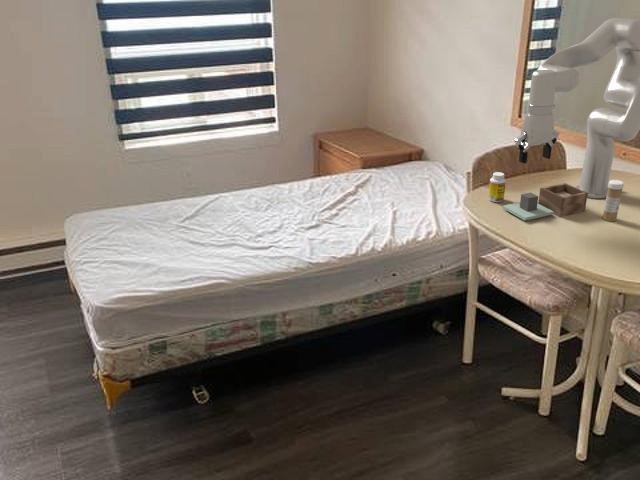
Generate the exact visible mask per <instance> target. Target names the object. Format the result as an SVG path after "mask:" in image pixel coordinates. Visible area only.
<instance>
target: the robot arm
mask: <svg viewBox="0 0 640 480" xmlns="http://www.w3.org/2000/svg"><path fill="white" fill-rule="evenodd" d="M614 49H615V52H616V63H615V67H614V70H613V72H612V75H611V76H610V79H609V80H608V82H607V83H608V84H607V86H606V88H605V90H604V93H603V100H604V102H605V103H606V104H608V105H610V106H614V107H616V108H617V107H619V108H623V109H626V111H623V110H622V111H621V110H618V109H613V108H608V107H599V108H595V109H593V110H592V111H591V112H590V113H589V115H588V117H587V120H586V131H587V132H586V133H587V135H586V137H587V138H586V145H585V146H586V147H585V152H584V158H583V164H582V171H581V175H580V181H579V184H578V185H576V186H574V187H575V188H578V189H580V190H582V191H585V192H587V193H588V196H587V199H588V198H589V199H606V196H607V192H608V183H609V181H610V176H611V172H612V165H613V162H614V161H613V160H614V156H615V155H614V154H615V149H616V145H615V140H616V141H617V140H618V141H623V142H629V141H630V142H631V141H632V140H633V139H634V138H635V137H637V135H638V134H639V131H640V80H639V79H640V19H635V18H624V17H623V18H622V17H620V18H619V17H613V18H609V19H607V20H605V21H604V22H603V23H602V24H601V25H599V26H598V27H597V28H596V29H595V30H594V31H592V33H591V34H590V35H588V36H587V37H586V38H585V39H584V40H583V41H580V42H579V43H577V44H574V45H571V46H568V47H567V48H566V47H565V48H563V49H562V50H559V51H557V52H555V53H554V54H552V55H550V56H549V57H548V58H547V59H546V60H545V61H544V62H543V63H542V64H540V66H539V67H538V68H537V70H534V71H533V73H532V74H531V81H530V89H529V98H528V100H529V101H528V108H527V109H528V110H527V113H525V116H524V117H523V121H522V124H521V125H522V126H521V130H520V134H519V135H518V136H517V137H516V138H515V139H514V143H515V147H516V148H517V149H518V151H519V156H518V161H519V163H522V164H527V162H528V156H529V155H528V154H529V152H528V149H529V148H530V147H533V146H538V145H543V147H542V155H541V157H543V158H545V159H546V160H547V159H548V160H549V159H551V155H552V148H554V145H555V143H556V142H557V140H558V138H559V136H560V131H557V130H555V129H554V128H555V117H554V113H553V110H554V108H555V107H556V105H555V95H556V93H569V92H572V91H573V90H575V89H576V88H577V87H578V86H579V84H580V82H581V74H580V73H579V71H578V70H577V69H575V68H579V67H587V66H590V65H594V64H598V63H599V62H600V61H601V60H602V59H604V58H605V57H606V56H607V55H608V54H610V52H611V51H613V50H614Z"/></svg>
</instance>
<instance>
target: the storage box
mask: <svg viewBox="0 0 640 480" xmlns="http://www.w3.org/2000/svg"><path fill="white" fill-rule="evenodd" d="M575 187H576V186H573V185H571V184H568V183H567V182H566V183H565V182H563V183H559V184H558V183H557V184H553V185H549V186H543V187H540V188H539V194H538V204H540V205H542V206H544V207H546V208H548V209H550V210H552V211H554V214H553V215H554V216H556V217H558V218H562V217H566V216H571V215H576V214H580V213H585V212H586V206H587V201H588V200H587V199H588V197H587V196H588V193H587V192H585V191H582V190H580V189H578V188H575Z"/></svg>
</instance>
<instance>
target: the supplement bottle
mask: <svg viewBox="0 0 640 480" xmlns="http://www.w3.org/2000/svg"><path fill="white" fill-rule="evenodd" d="M506 182H507V180H506V178H505V173H503V172H499V171H497V172H496V171H495V172H493V174H492V177H491V178H490V180H489V187H488V188H489V189H488V201H490V202H493V203H502V202H503V201H504V200H505V191H506V184H507V183H506Z"/></svg>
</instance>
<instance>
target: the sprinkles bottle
mask: <svg viewBox="0 0 640 480" xmlns="http://www.w3.org/2000/svg"><path fill="white" fill-rule="evenodd" d="M624 184H625V183H624V181H622V180H619V179H611V180H610V179H609V183H608V192H607V196H606V198H605V202H604V206H603V207H604V208H603V213H602V216H601V217H602V219H603V220H604V221H607V222H615V221H617V219H618V213H619V211H620V210H619V209H620V204H621V201H622V200H621V198H622V193H623V189H624Z"/></svg>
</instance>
